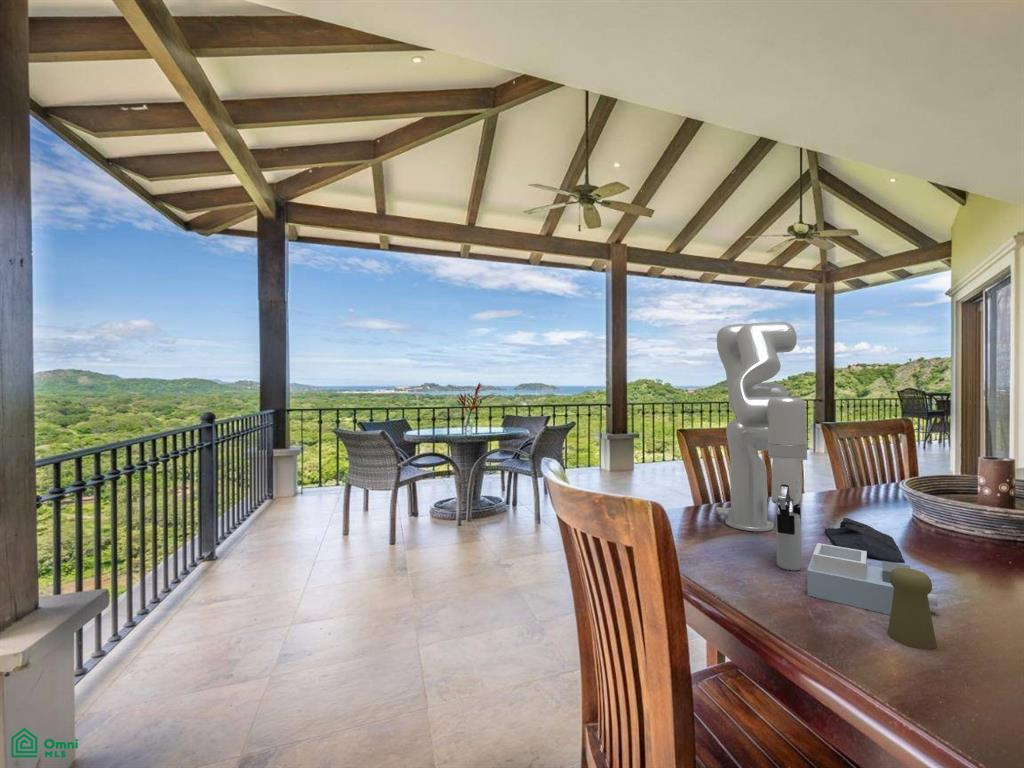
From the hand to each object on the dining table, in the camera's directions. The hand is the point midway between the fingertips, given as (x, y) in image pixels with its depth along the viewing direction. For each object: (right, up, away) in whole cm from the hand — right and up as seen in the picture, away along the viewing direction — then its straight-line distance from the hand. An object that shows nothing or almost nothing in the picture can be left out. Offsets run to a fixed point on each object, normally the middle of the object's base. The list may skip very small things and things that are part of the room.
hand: (789, 528), depth 103 cm
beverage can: (0, -9, +1) cm, 9 cm away
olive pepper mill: (+2, -9, -29) cm, 30 cm away
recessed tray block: (+6, -9, -15) cm, 19 cm away
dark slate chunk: (+27, -10, +14) cm, 32 cm away
